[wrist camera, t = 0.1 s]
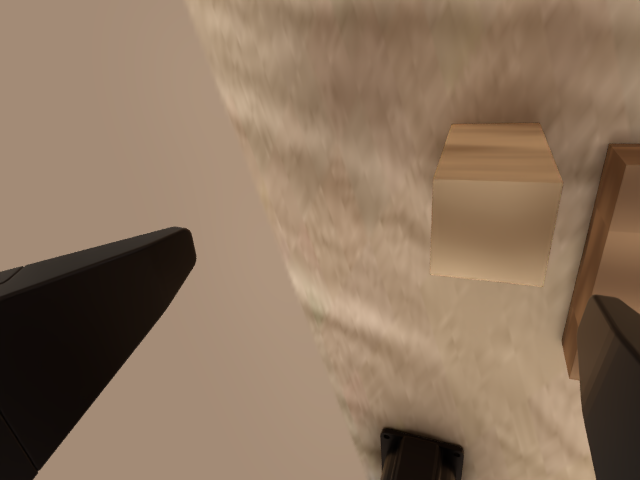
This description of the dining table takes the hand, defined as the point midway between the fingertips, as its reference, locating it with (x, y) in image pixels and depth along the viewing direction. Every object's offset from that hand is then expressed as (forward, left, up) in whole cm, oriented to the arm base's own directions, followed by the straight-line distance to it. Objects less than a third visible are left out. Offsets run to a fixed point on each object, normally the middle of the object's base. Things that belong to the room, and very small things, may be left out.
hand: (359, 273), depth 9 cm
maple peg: (-2, -3, -15) cm, 15 cm away
